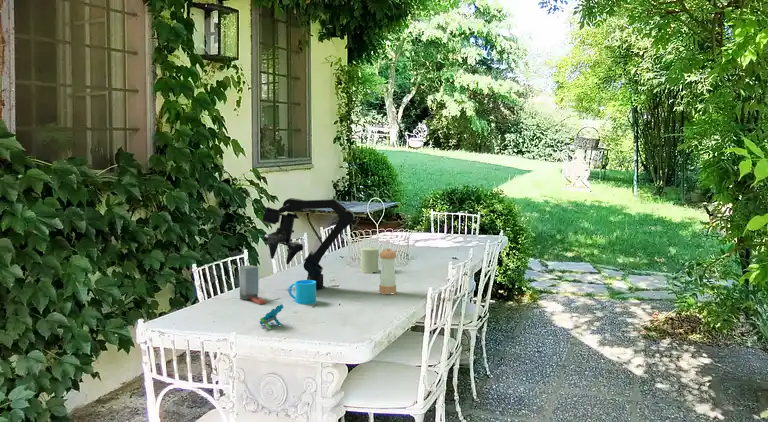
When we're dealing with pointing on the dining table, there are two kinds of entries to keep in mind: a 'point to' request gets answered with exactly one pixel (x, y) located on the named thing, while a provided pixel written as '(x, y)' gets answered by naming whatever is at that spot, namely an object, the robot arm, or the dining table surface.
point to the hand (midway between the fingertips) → (279, 261)
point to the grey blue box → (248, 280)
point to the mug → (304, 291)
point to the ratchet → (253, 298)
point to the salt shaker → (387, 272)
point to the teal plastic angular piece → (271, 316)
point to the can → (369, 260)
